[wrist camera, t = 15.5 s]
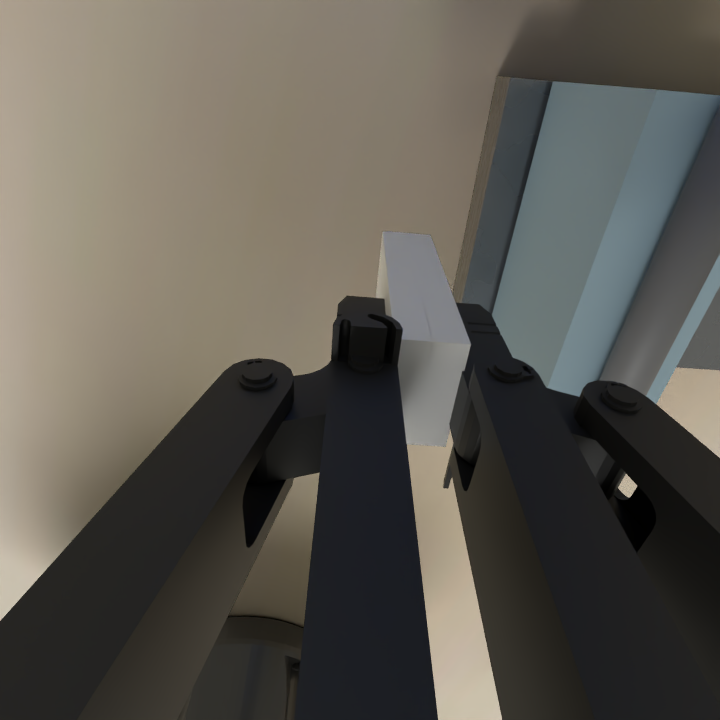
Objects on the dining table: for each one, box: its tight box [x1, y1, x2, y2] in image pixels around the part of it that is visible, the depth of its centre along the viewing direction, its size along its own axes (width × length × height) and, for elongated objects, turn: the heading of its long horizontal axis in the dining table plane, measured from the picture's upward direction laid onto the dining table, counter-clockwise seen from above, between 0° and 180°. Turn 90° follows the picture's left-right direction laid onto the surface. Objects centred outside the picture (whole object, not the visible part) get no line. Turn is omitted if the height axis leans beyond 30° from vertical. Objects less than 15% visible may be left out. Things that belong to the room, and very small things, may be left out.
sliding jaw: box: [492, 81, 720, 404], centre depth 17 cm, size 4×12×8 cm, turn 176°
